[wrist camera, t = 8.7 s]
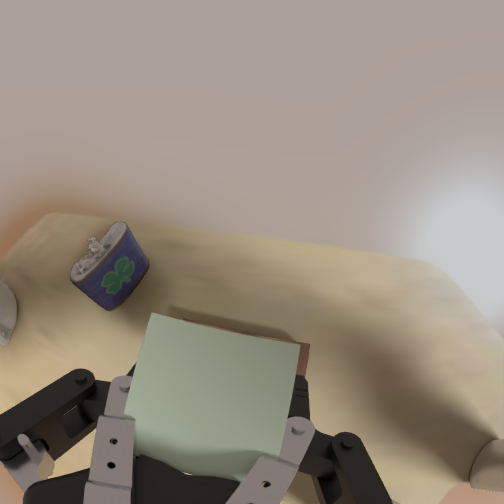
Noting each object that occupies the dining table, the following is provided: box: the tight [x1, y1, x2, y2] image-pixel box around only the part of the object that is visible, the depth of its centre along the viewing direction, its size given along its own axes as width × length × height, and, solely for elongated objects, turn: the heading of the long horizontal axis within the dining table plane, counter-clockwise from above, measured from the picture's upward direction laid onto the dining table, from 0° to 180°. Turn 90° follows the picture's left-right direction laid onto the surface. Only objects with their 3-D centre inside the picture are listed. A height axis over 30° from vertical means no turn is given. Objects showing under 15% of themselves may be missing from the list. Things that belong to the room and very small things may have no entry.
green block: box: [123, 312, 300, 484], centre depth 12 cm, size 5×5×10 cm
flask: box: [70, 222, 149, 311], centre depth 29 cm, size 9×3×11 cm, turn 146°
